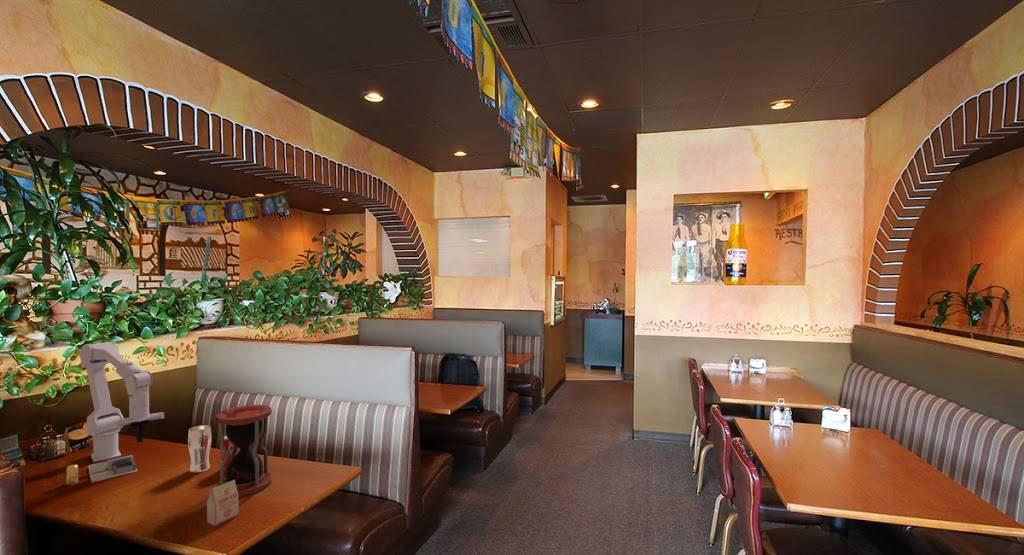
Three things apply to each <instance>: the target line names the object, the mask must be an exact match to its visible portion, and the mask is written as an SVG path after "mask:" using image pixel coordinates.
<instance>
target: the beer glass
mask: <svg viewBox="0 0 1024 555" xmlns="http://www.w3.org/2000/svg"><path fill="white" fill-rule="evenodd" d="M187 435H188V436H187V437H188V438H187V445H188V451H189V456H190V467H189V472H190V473H193V474H195V473H203V472H205V471H208V470H209V469H210V468H211V463H210V459H209V456H210V450H211V446H212V430H211V425H209V424H208V425H207V424H206V425H205V424H203V425H196V426H194V427H193V426H192V427H190V428H189V429H188V434H187Z"/></svg>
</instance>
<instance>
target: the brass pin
mask: <svg viewBox="0 0 1024 555" xmlns="http://www.w3.org/2000/svg"><path fill="white" fill-rule="evenodd" d="M78 483H79V464H70V465H68V466H66V485H67V486H72V485H76V484H78Z"/></svg>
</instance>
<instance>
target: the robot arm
mask: <svg viewBox="0 0 1024 555" xmlns="http://www.w3.org/2000/svg"><path fill="white" fill-rule="evenodd" d="M79 357H80V358H79V359H80V363H81V367H82V368H85V369H86V370H85V371H86V374H87V378H88V383H89V388H90V393H91V398H92V405H93V408H94V410H93V411H92V412H91V413H90V414H89V415H88V416H87V417H86V432H87V433H88V435H89V436H91V437H93V438H92V439H93V441H92V442H93V453H91V454H90V457H91V459H92V463H93V462H94V463H96V462H100V461H104V460H110V459H115V458H119V457H122V454H121V451H120V450H119V432H121V429H123V427H124V426H127V425H129V426H130V427H131V429H132V431H133V432H134V436H135V438H136V443H138V444H139V443H143V440H144V437H145V434H146V431H147V429H148V427H149V425H150V421H155V420H159V419H160V420H161V419H165V412H163V411H162V412H155V413H150V387H151V386H152V384H153V381H154V377H153V374H152V373H151V372H150V371H149V370H146V371H145V370H142V369H141V368H139V366H137V365H136V364H135V363H134V362H133V361H132V360H128V361H127V360H126V359H125V358H124V357H123V355H122V354H121V353H120V352H119V344H117V343H116V342H115V341H113V340H111V341H104V342H98V343H90V344H88V343H87V344H84V345H82V346H81V348H80V351H79ZM107 364H111V365H112V366H113V367H114V368H115V372H116V374H118V376H119V377H120V378H121V379H122V380H123V381H124V385H125V388H126V392H127V395H128V396H129V397H128V400H129V404H128V406H129V408H128V409H129V416H128V417H125V418H124V416H123V413H122V412H121V409H120V408H117V407H115V406H113V405H112V401H111V394H110V389H109V385H108V381H107V380H108V379H107V375H106V371H105V367H106V365H107Z"/></svg>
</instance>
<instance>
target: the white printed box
mask: <svg viewBox="0 0 1024 555" xmlns="http://www.w3.org/2000/svg"><path fill="white" fill-rule="evenodd" d="M239 509H240V507H239V496H238V491H237V488H236V483H235V480H232V481H230V482H227V483H225V484H222V485H220V486H217V485H216V486H215V487H213V488H210V490H209V495H208V498H207V500H206V521H207V522H206V523H207V524H209V525H211V526H214V527H216V526H218V525H221V524H222V523H224V522H227V521H229V520H230V519H233V518H235V517H238V516H239V515H240V514H239Z"/></svg>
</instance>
